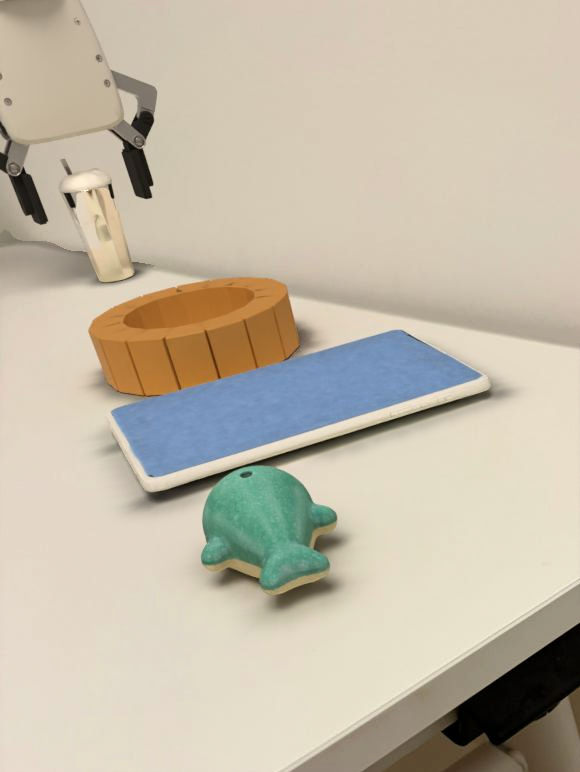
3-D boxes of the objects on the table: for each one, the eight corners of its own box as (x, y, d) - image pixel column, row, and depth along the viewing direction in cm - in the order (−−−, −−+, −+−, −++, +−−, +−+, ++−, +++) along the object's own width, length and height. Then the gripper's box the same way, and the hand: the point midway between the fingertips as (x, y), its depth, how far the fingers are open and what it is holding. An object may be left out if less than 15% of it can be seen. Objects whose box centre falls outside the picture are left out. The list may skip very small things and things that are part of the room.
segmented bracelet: (86, 365, 65) (67, 316, 62) (254, 315, 70) (242, 267, 68) (142, 412, 55) (122, 355, 53) (331, 350, 61) (319, 296, 59)
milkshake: (124, 267, 89) (86, 153, 83) (150, 273, 86) (111, 154, 80) (81, 280, 87) (38, 164, 81) (105, 287, 83) (63, 166, 78)
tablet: (405, 343, 60) (402, 323, 59) (499, 395, 50) (496, 372, 50) (109, 430, 54) (101, 409, 53) (152, 508, 44) (143, 484, 43)
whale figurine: (319, 511, 42) (299, 434, 40) (373, 582, 36) (354, 496, 34) (194, 551, 40) (165, 473, 38) (230, 632, 35) (200, 546, 32)
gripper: (105, -32, 79) (171, 185, 89) (-109, -3, 72) (-12, 228, 82) (131, -41, 74) (197, 191, 84) (-98, -10, 67) (4, 238, 77)
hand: (94, 209), depth 83 cm, fingers open, 9 cm apart
